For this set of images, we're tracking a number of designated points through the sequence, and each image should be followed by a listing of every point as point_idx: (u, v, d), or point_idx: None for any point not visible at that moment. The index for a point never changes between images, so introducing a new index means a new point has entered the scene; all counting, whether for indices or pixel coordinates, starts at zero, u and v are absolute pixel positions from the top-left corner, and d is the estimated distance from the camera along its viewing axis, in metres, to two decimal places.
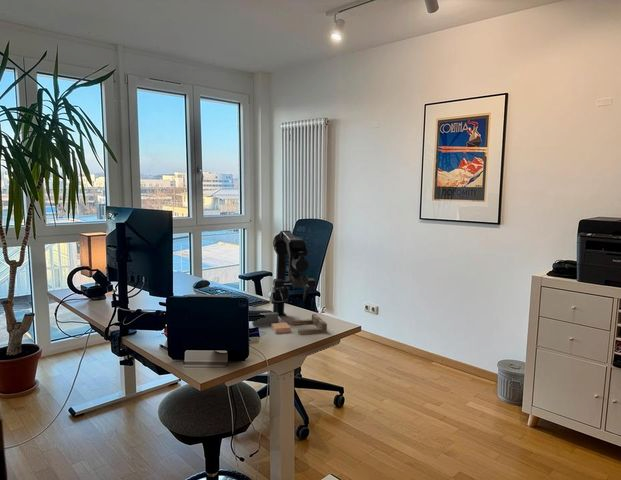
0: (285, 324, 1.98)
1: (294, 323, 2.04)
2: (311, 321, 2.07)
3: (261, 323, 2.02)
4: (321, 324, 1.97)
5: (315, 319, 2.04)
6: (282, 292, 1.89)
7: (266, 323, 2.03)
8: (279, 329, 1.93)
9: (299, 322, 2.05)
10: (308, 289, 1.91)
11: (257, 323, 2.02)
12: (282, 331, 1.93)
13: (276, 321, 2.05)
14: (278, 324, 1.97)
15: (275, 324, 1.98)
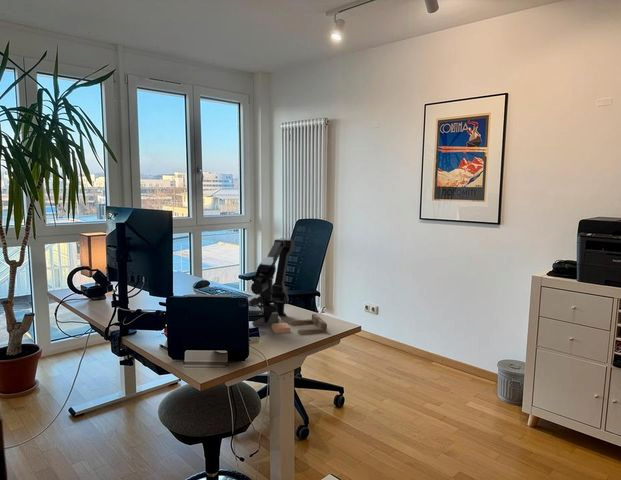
0: (285, 324, 1.98)
1: (294, 323, 2.04)
2: (311, 321, 2.07)
3: (261, 323, 2.02)
4: (321, 324, 1.97)
5: (315, 319, 2.04)
6: (261, 310, 2.05)
7: (266, 323, 2.03)
8: (279, 329, 1.93)
9: (299, 322, 2.05)
10: None
11: (257, 323, 2.02)
12: (282, 331, 1.93)
13: (276, 321, 2.05)
14: (278, 324, 1.97)
15: (275, 324, 1.98)
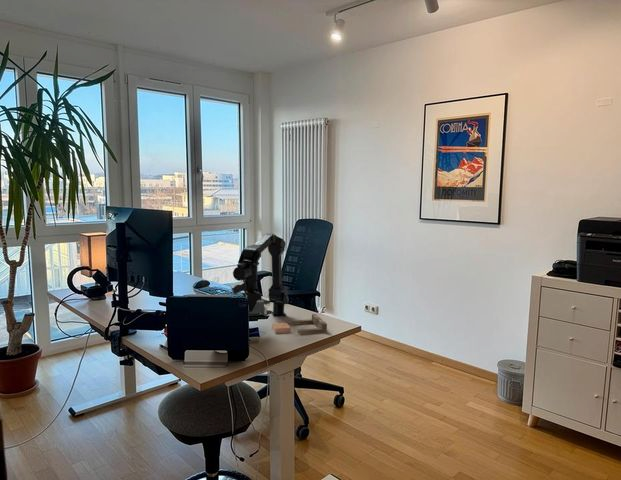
0: (285, 324, 1.98)
1: (294, 323, 2.04)
2: (311, 321, 2.07)
3: None
4: (321, 324, 1.97)
5: (315, 319, 2.04)
6: None
7: (251, 312, 1.90)
8: (279, 329, 1.93)
9: (299, 322, 2.05)
10: None
11: None
12: (282, 331, 1.93)
13: (262, 310, 1.91)
14: (278, 324, 1.97)
15: (275, 324, 1.98)
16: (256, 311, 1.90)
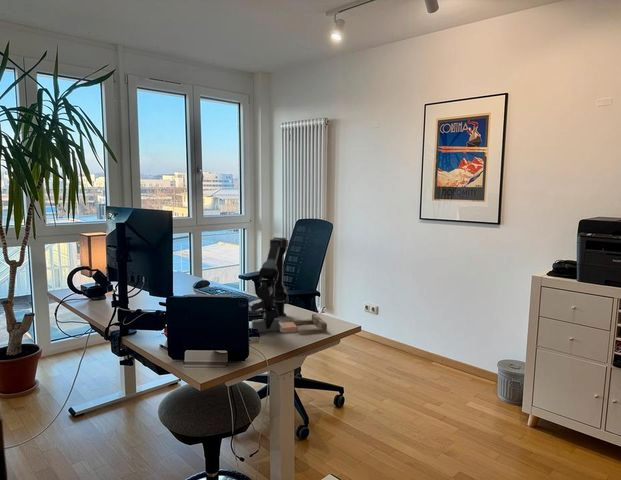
0: (291, 323, 1.99)
1: (294, 323, 2.04)
2: (311, 321, 2.07)
3: (261, 330, 1.92)
4: (321, 324, 1.97)
5: (315, 319, 2.04)
6: None
7: (266, 330, 1.93)
8: (286, 328, 1.94)
9: (299, 322, 2.05)
10: (264, 316, 1.90)
11: None
12: (289, 330, 1.94)
13: (277, 327, 1.95)
14: (284, 323, 1.99)
15: (282, 323, 1.99)
16: (272, 329, 1.94)
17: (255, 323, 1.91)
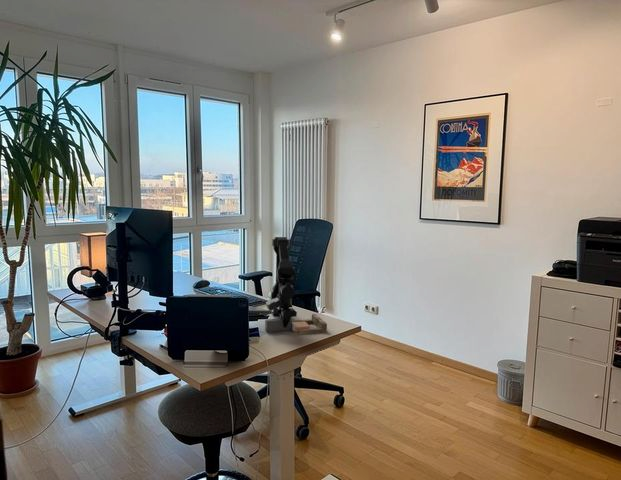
0: (304, 322, 2.01)
1: None
2: (311, 321, 2.07)
3: (274, 329, 1.94)
4: (321, 324, 1.97)
5: (315, 319, 2.04)
6: (279, 314, 1.98)
7: (279, 329, 1.95)
8: (299, 328, 1.95)
9: None
10: (281, 315, 1.93)
11: (270, 329, 1.94)
12: None
13: (290, 327, 1.97)
14: (297, 323, 2.00)
15: (294, 323, 2.00)
16: (284, 328, 1.96)
17: (268, 322, 1.93)
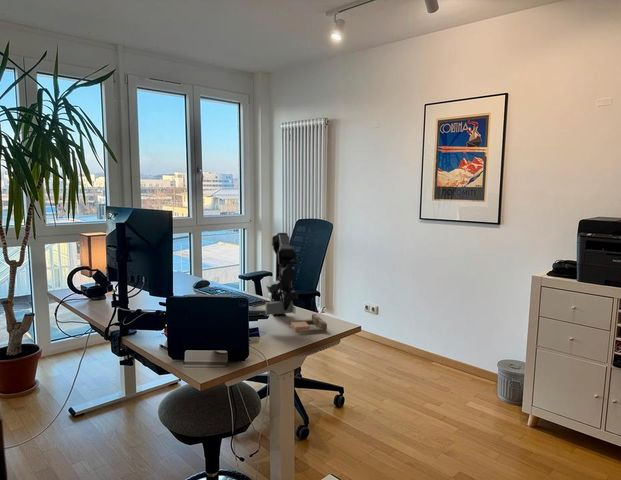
0: (304, 322, 2.01)
1: None
2: (311, 321, 2.07)
3: (275, 312, 1.93)
4: (321, 324, 1.97)
5: (315, 319, 2.04)
6: (280, 297, 1.97)
7: (280, 312, 1.94)
8: (299, 328, 1.95)
9: None
10: (281, 298, 1.92)
11: (271, 312, 1.92)
12: None
13: (290, 310, 1.95)
14: (297, 323, 2.00)
15: (294, 323, 2.00)
16: (285, 311, 1.95)
17: (269, 305, 1.92)
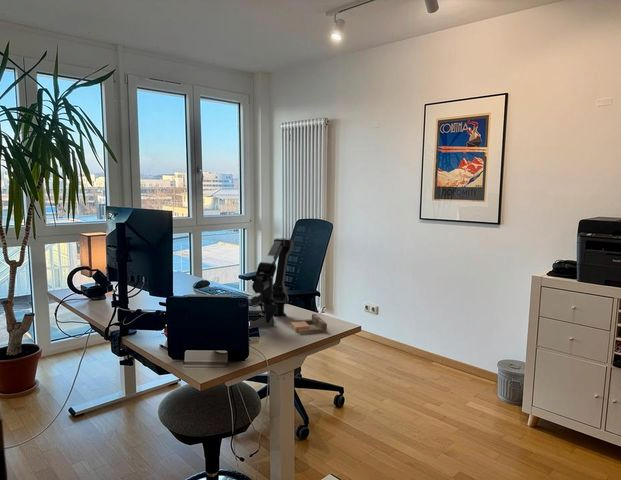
0: (304, 322, 2.01)
1: None
2: (311, 321, 2.07)
3: (256, 324, 2.01)
4: (321, 324, 1.97)
5: (315, 319, 2.04)
6: None
7: (261, 324, 2.01)
8: (299, 328, 1.95)
9: None
10: None
11: (252, 324, 2.00)
12: None
13: (271, 322, 2.03)
14: (297, 323, 2.00)
15: (294, 323, 2.00)
16: (266, 323, 2.02)
17: None
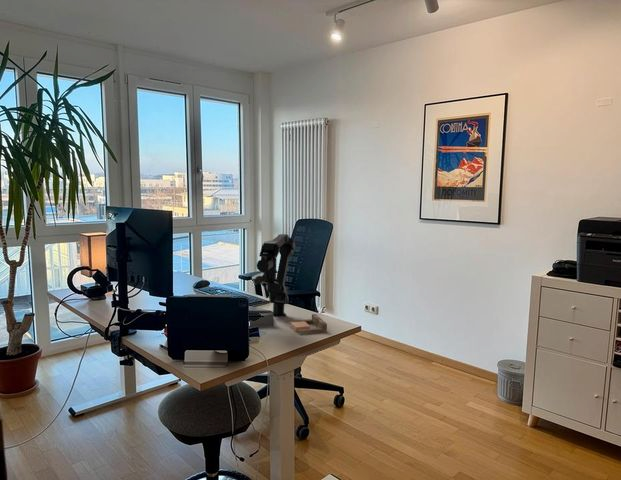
0: (304, 322, 2.01)
1: None
2: (311, 321, 2.07)
3: (256, 324, 2.01)
4: (321, 324, 1.97)
5: (315, 319, 2.04)
6: None
7: (261, 324, 2.01)
8: (299, 328, 1.95)
9: None
10: (268, 291, 1.97)
11: (252, 324, 2.00)
12: None
13: (271, 322, 2.03)
14: (297, 323, 2.00)
15: (294, 323, 2.00)
16: (266, 323, 2.02)
17: None
